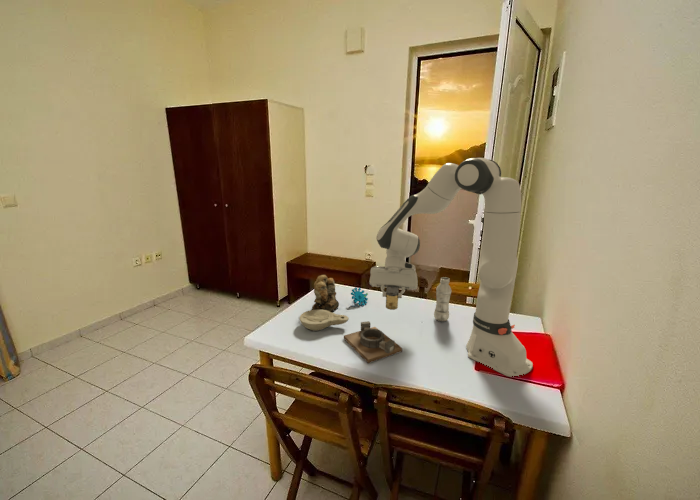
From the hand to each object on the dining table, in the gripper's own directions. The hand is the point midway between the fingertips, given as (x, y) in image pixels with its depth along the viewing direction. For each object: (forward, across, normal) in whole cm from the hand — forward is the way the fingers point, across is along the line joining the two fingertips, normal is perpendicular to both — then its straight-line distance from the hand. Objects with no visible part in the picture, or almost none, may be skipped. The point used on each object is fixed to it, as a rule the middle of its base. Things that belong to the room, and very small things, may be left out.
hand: (392, 297), depth 126 cm
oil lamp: (+13, -28, +8) cm, 32 cm away
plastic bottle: (+1, +22, +20) cm, 30 cm away
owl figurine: (+1, -33, +20) cm, 38 cm away
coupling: (+3, 0, +4) cm, 5 cm away
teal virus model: (-6, -18, +26) cm, 32 cm away
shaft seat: (+20, -6, +1) cm, 21 cm away
